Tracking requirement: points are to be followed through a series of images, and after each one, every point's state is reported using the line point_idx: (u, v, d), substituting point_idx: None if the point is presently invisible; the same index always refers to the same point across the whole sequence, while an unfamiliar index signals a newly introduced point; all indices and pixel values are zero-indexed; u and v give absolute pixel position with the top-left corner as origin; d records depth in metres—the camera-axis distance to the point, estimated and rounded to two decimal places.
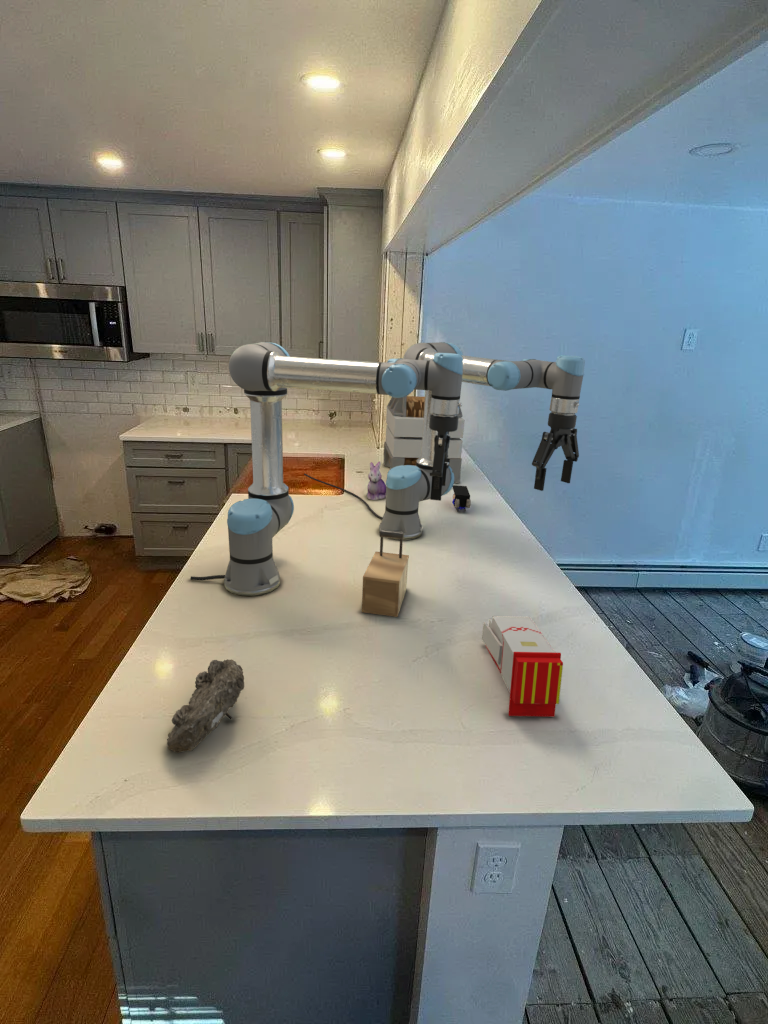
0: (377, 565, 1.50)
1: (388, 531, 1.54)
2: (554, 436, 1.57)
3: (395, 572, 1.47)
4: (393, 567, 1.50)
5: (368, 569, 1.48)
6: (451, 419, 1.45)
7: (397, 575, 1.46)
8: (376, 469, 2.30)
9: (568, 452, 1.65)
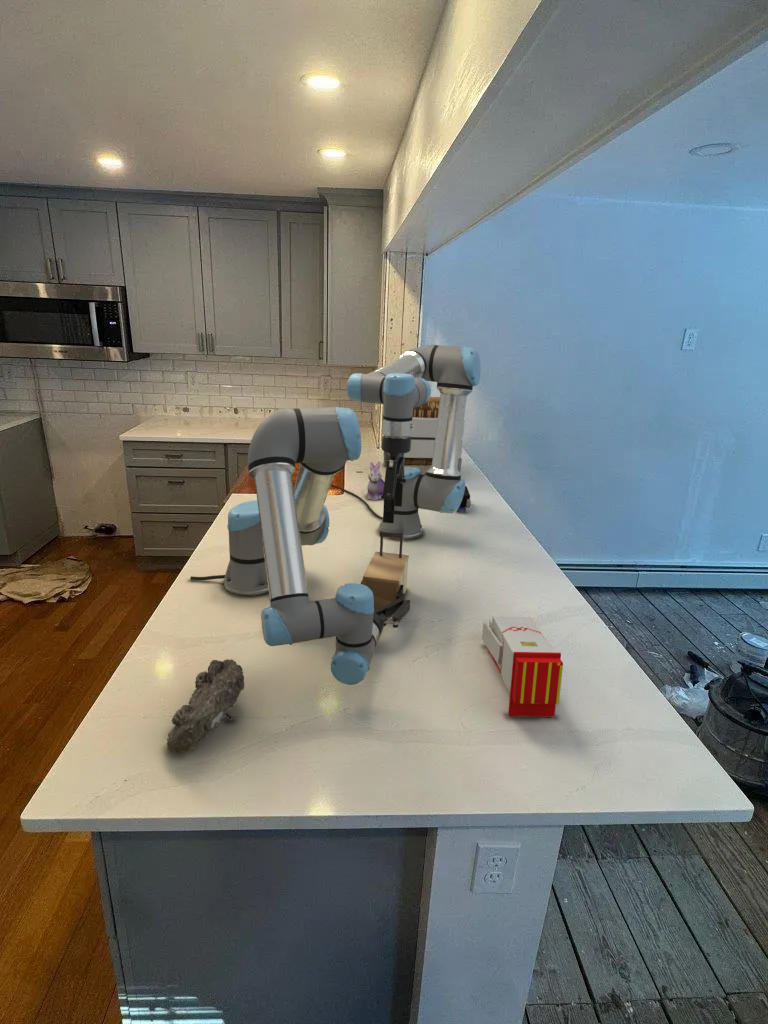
0: (377, 565, 1.50)
1: (388, 531, 1.54)
2: None
3: (395, 572, 1.47)
4: (393, 567, 1.50)
5: (368, 569, 1.48)
6: None
7: (397, 575, 1.46)
8: (376, 469, 2.30)
9: (399, 475, 1.53)
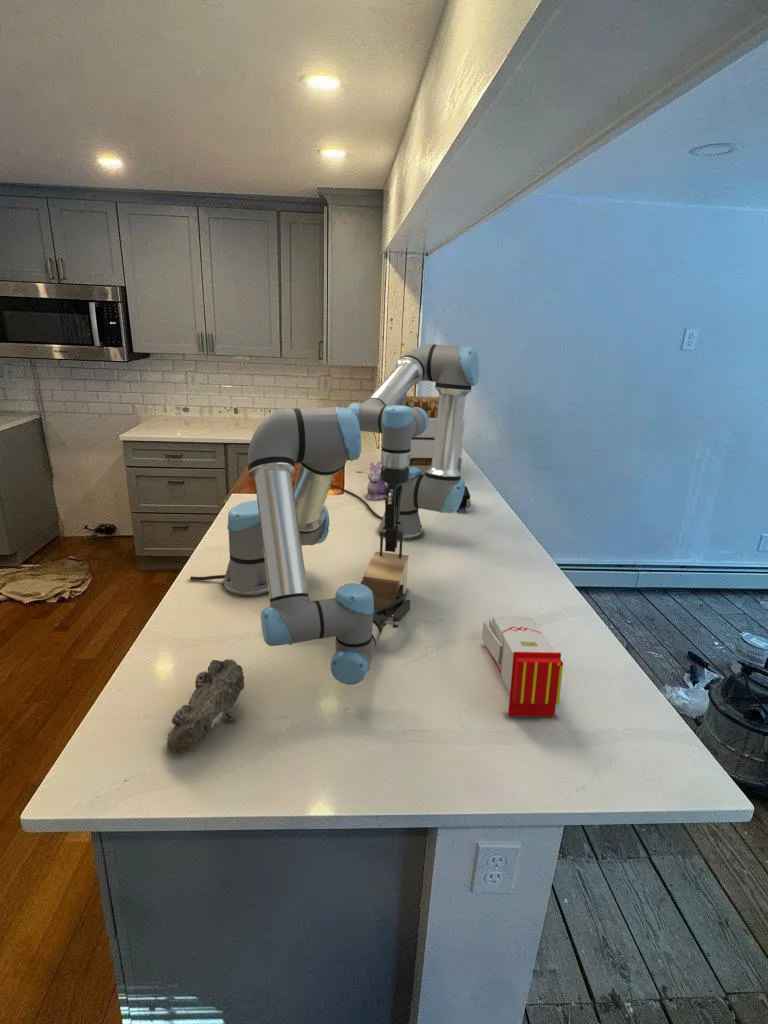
0: (377, 565, 1.50)
1: None
2: (394, 493, 1.46)
3: (395, 572, 1.47)
4: (393, 567, 1.50)
5: (368, 569, 1.48)
6: None
7: (397, 575, 1.46)
8: (376, 469, 2.30)
9: None
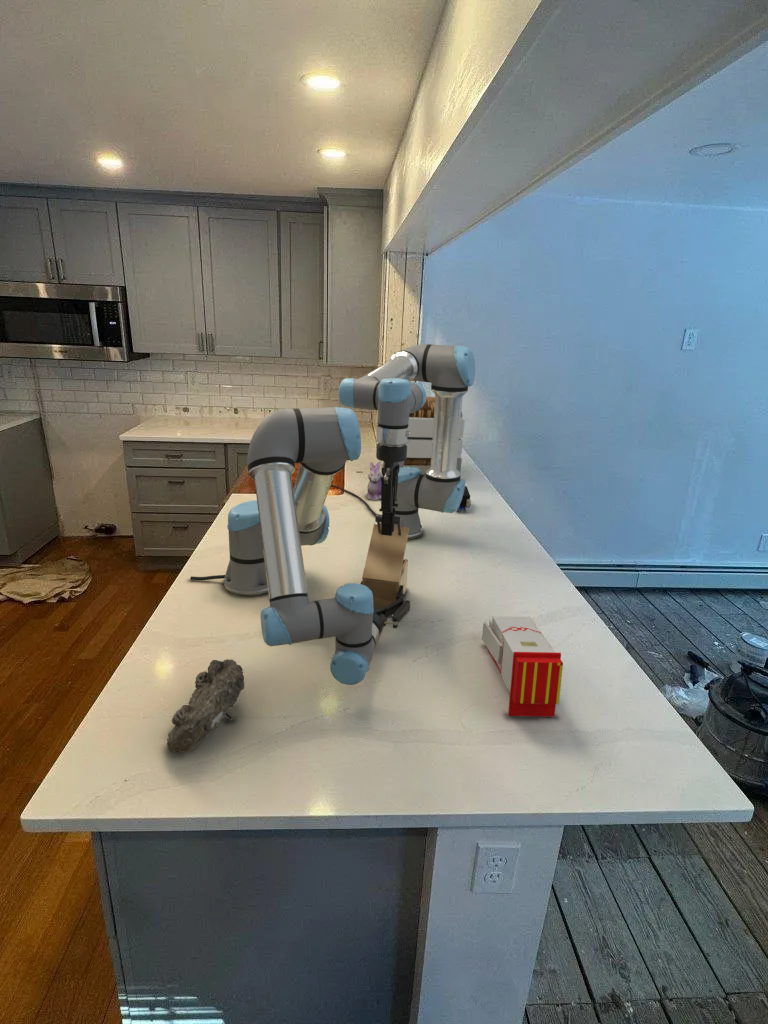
0: (376, 554, 1.47)
1: None
2: (391, 472, 1.37)
3: (394, 565, 1.45)
4: (392, 555, 1.47)
5: (367, 562, 1.46)
6: None
7: (397, 570, 1.44)
8: (376, 469, 2.30)
9: (392, 492, 1.44)
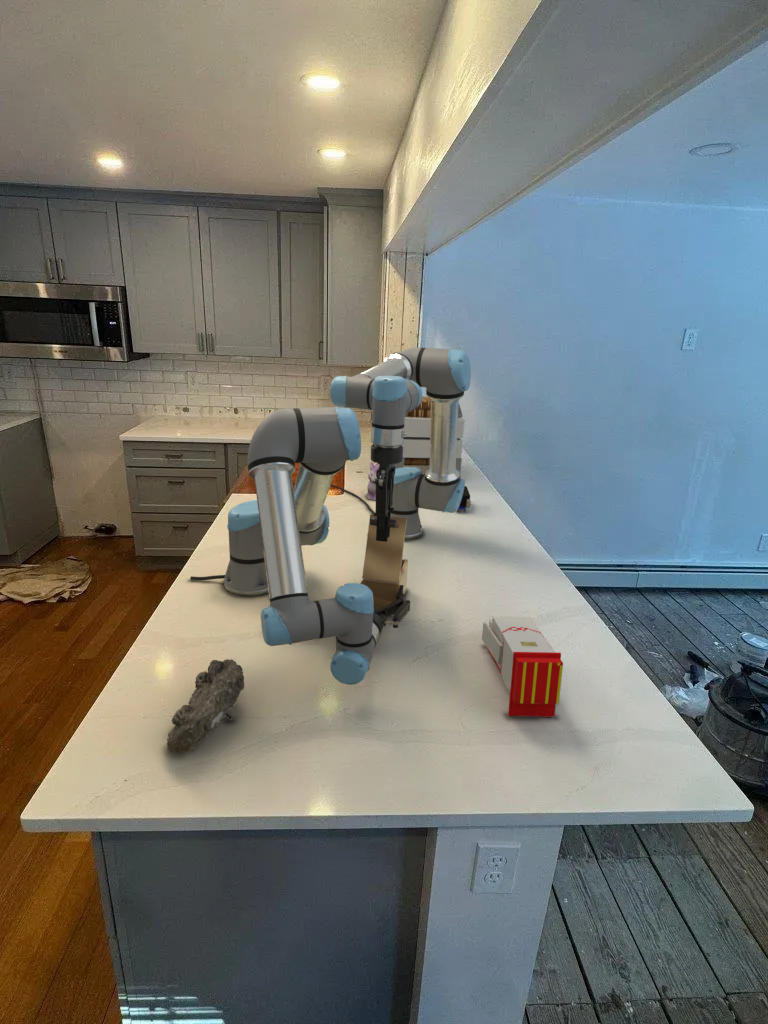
0: (375, 550, 1.44)
1: None
2: (386, 474, 1.30)
3: (394, 563, 1.43)
4: (391, 552, 1.43)
5: (366, 561, 1.44)
6: None
7: (396, 570, 1.43)
8: (376, 469, 2.30)
9: None
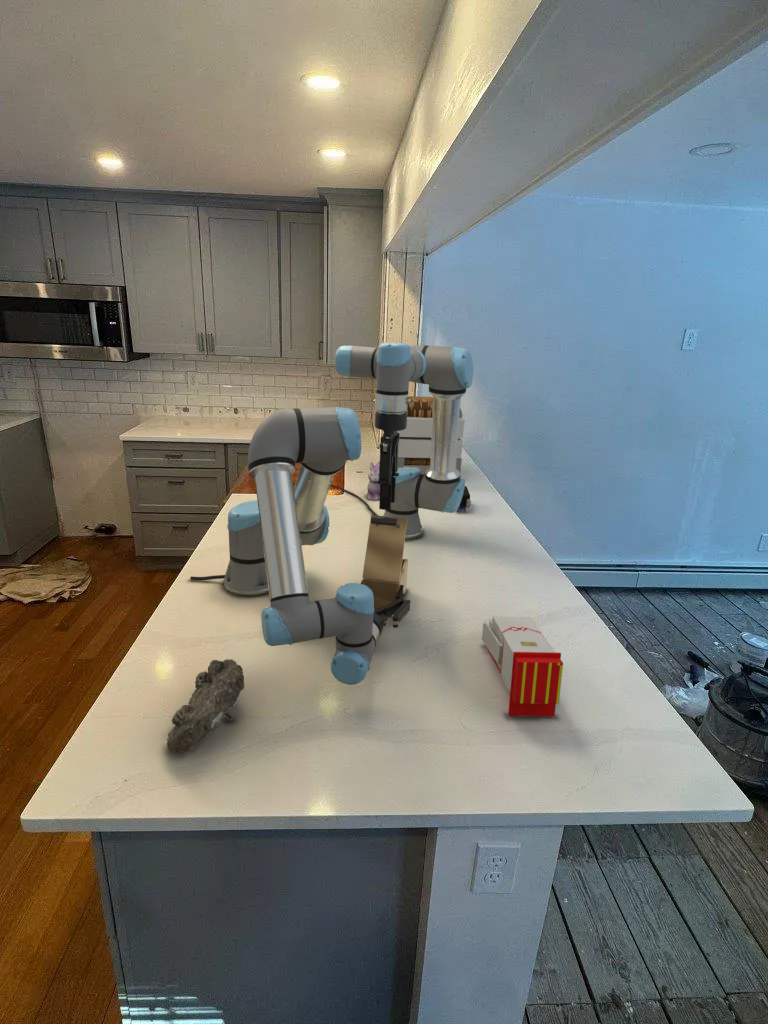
0: (375, 550, 1.45)
1: (380, 521, 1.38)
2: (390, 440, 1.31)
3: (394, 563, 1.43)
4: (391, 552, 1.44)
5: (366, 560, 1.45)
6: None
7: (396, 569, 1.43)
8: (376, 469, 2.30)
9: (392, 462, 1.39)
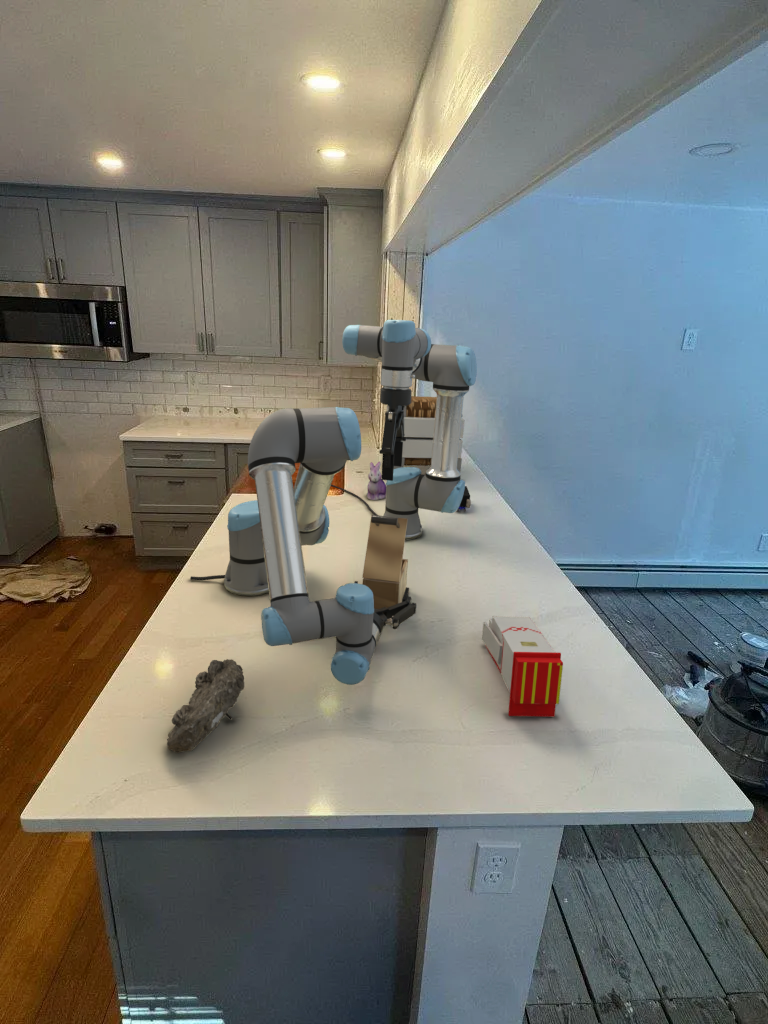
0: (375, 550, 1.45)
1: (380, 520, 1.39)
2: (395, 415, 1.34)
3: (394, 563, 1.44)
4: (391, 551, 1.44)
5: (366, 560, 1.45)
6: None
7: (396, 569, 1.43)
8: (376, 469, 2.30)
9: (399, 432, 1.45)
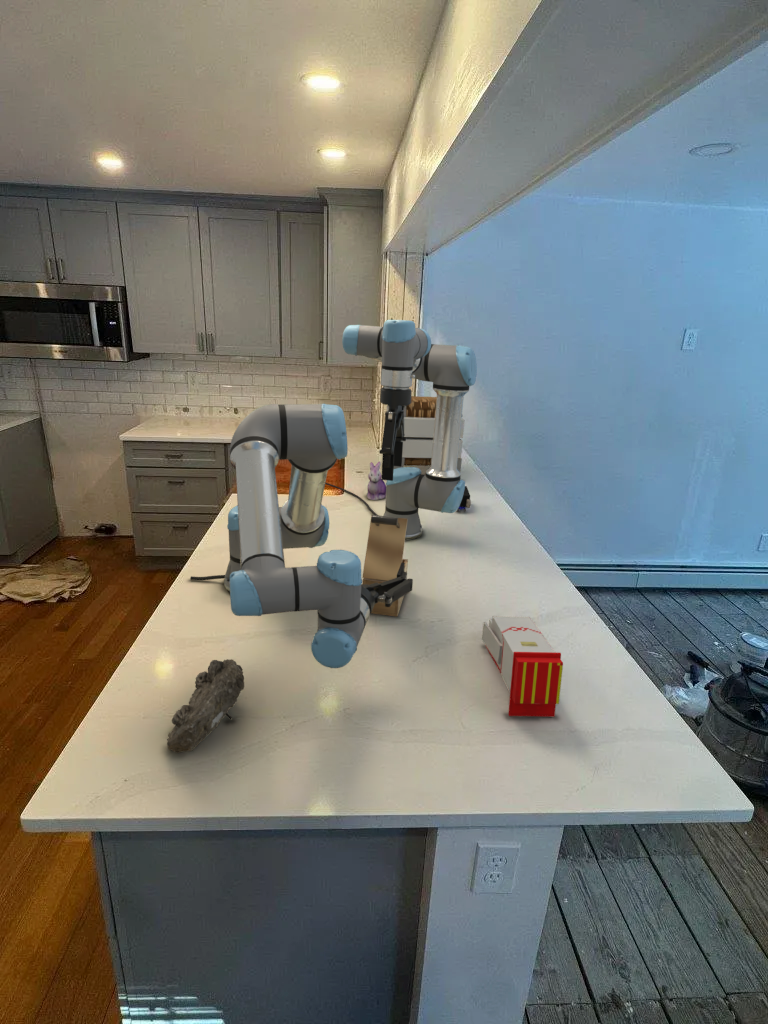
0: (375, 550, 1.45)
1: (380, 520, 1.39)
2: (395, 415, 1.34)
3: (394, 563, 1.44)
4: (391, 551, 1.44)
5: (366, 560, 1.45)
6: None
7: (396, 569, 1.43)
8: (376, 469, 2.30)
9: (399, 432, 1.45)
